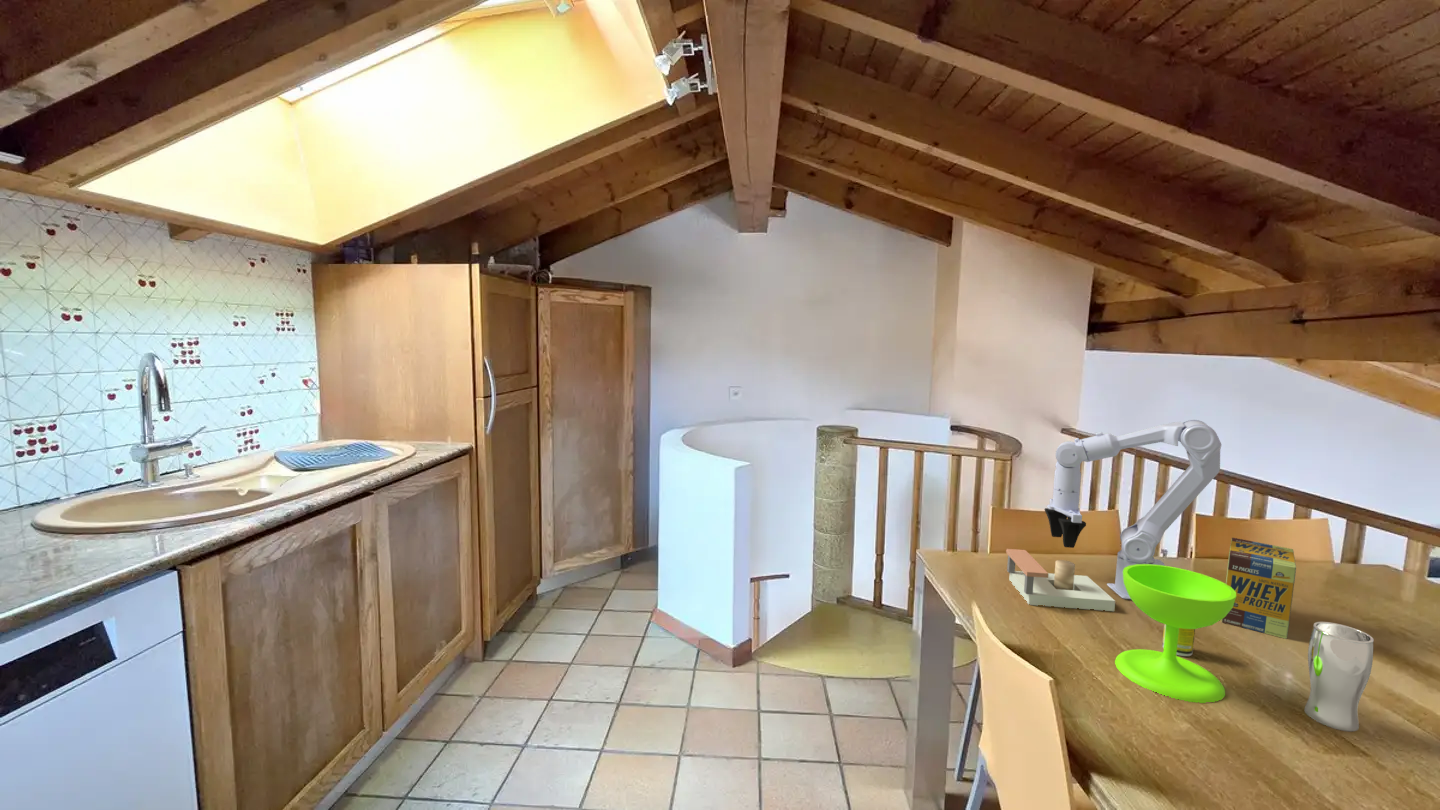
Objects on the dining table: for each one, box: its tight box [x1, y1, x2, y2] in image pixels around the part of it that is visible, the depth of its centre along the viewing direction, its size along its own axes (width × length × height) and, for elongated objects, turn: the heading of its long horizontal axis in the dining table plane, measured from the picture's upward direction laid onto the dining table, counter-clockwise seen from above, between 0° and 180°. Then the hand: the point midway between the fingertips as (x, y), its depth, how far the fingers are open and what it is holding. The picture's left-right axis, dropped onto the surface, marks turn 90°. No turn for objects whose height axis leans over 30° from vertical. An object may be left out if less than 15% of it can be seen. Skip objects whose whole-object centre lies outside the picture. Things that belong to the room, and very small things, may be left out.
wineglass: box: [1114, 564, 1236, 704], centre depth 105 cm, size 16×16×18 cm
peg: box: [1054, 559, 1076, 590], centre depth 138 cm, size 4×4×8 cm
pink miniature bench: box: [1005, 548, 1049, 595], centre depth 140 cm, size 4×15×6 cm, turn 170°
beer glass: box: [1304, 621, 1374, 732], centre depth 93 cm, size 7×7×15 cm
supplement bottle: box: [1161, 624, 1196, 657], centre depth 114 cm, size 5×5×8 cm
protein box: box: [1221, 537, 1297, 639], centre depth 127 cm, size 10×15×16 cm
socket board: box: [1008, 570, 1116, 612], centre depth 139 cm, size 18×14×2 cm
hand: (1062, 541), depth 147 cm, fingers open, 7 cm apart
